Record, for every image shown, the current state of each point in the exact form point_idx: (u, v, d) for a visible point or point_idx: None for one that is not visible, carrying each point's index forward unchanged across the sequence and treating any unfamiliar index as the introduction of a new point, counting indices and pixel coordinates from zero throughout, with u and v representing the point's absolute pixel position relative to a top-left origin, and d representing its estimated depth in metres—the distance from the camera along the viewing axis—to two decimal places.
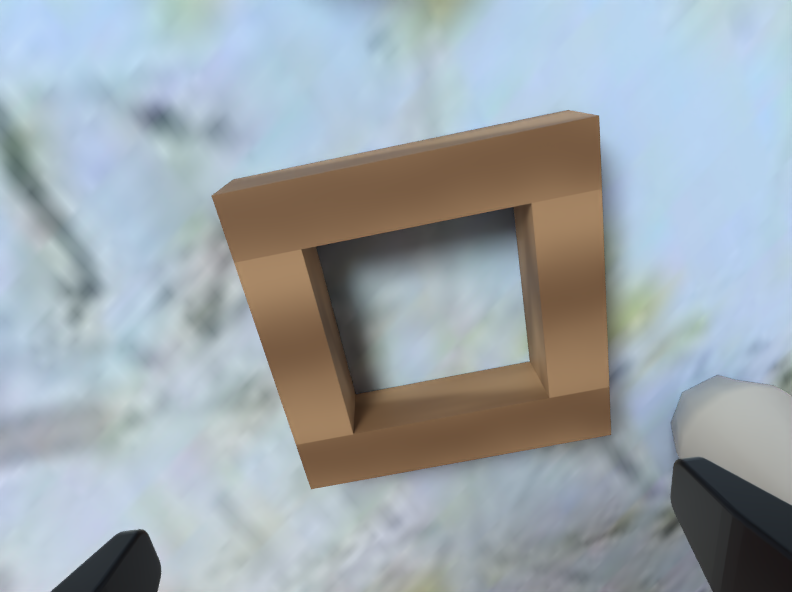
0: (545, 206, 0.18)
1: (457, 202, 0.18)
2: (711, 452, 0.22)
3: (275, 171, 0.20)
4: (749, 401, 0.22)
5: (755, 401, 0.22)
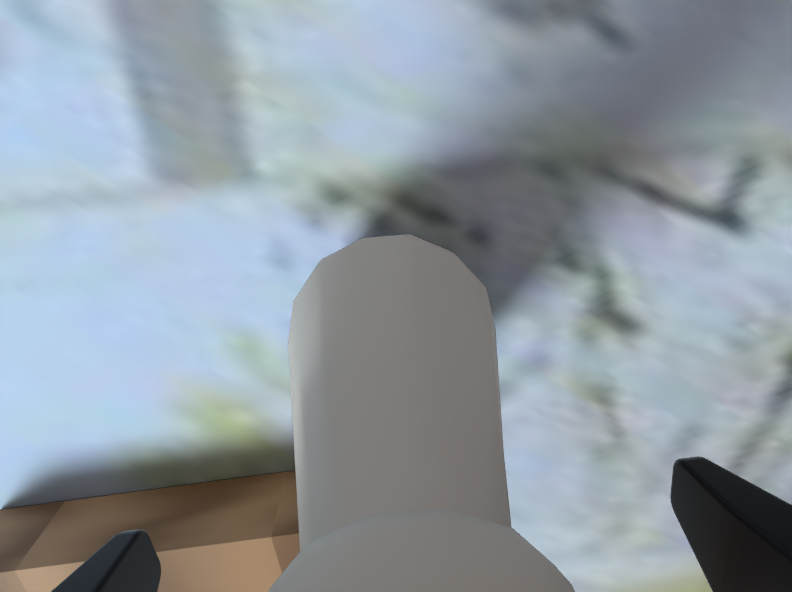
0: None
1: None
2: None
3: None
4: None
5: None
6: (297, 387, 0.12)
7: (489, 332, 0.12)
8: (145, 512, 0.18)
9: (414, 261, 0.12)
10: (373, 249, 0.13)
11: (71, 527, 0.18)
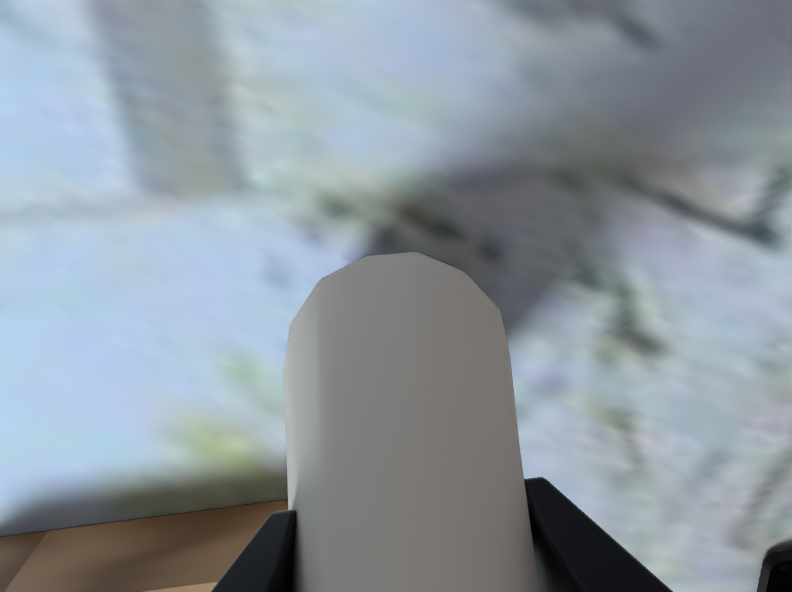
0: None
1: None
2: None
3: None
4: None
5: None
6: (292, 427, 0.10)
7: (506, 364, 0.11)
8: (132, 545, 0.17)
9: (423, 284, 0.11)
10: (377, 270, 0.12)
11: (53, 561, 0.17)
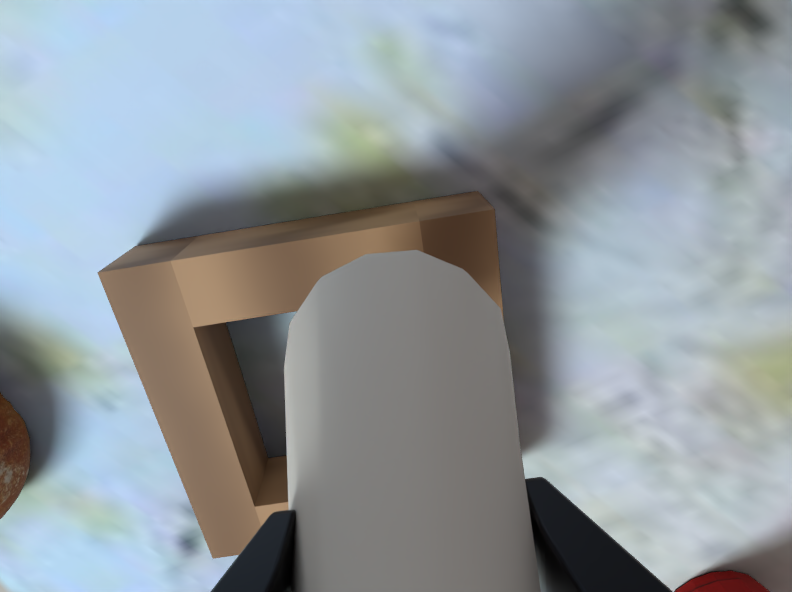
0: (195, 314, 0.18)
1: (199, 391, 0.19)
2: None
3: None
4: None
5: None
6: (292, 425, 0.10)
7: (506, 362, 0.11)
8: (283, 229, 0.19)
9: (423, 282, 0.11)
10: (377, 268, 0.12)
11: (213, 242, 0.19)
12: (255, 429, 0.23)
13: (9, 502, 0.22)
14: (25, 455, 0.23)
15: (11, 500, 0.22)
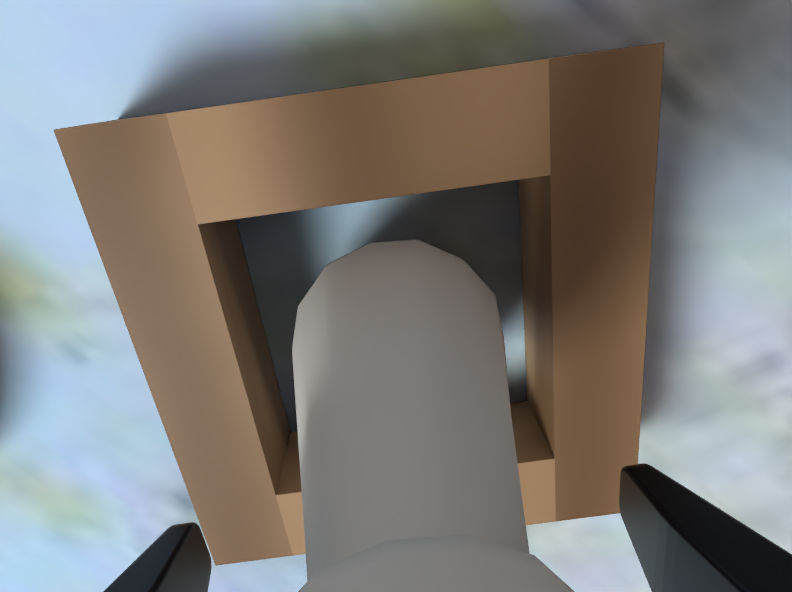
0: (201, 203, 0.12)
1: (204, 324, 0.13)
2: None
3: None
4: None
5: None
6: (302, 397, 0.11)
7: (499, 342, 0.12)
8: (332, 89, 0.13)
9: (423, 267, 0.12)
10: (380, 254, 0.13)
11: None
12: (276, 391, 0.17)
13: None
14: None
15: None
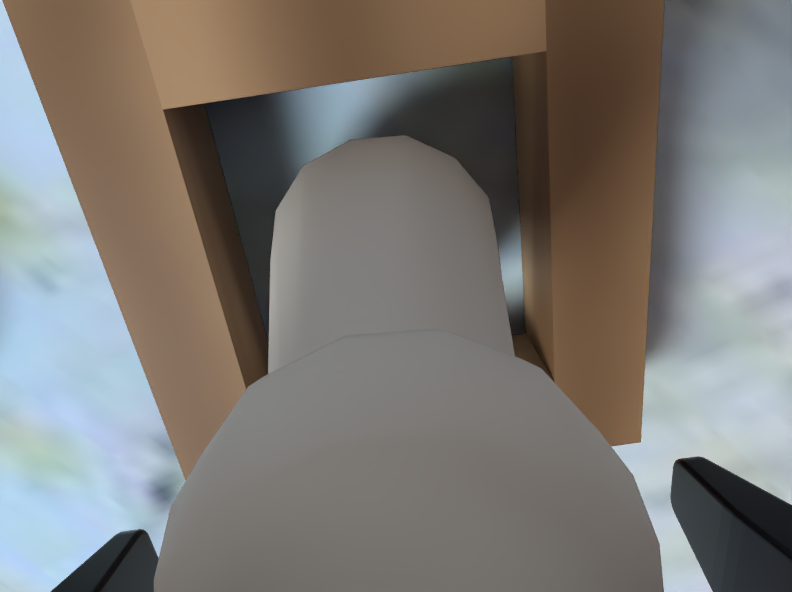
0: (166, 84, 0.11)
1: (173, 227, 0.12)
2: None
3: None
4: None
5: None
6: (275, 284, 0.10)
7: (492, 229, 0.11)
8: None
9: (409, 152, 0.11)
10: (363, 145, 0.12)
11: None
12: (258, 321, 0.16)
13: None
14: None
15: None
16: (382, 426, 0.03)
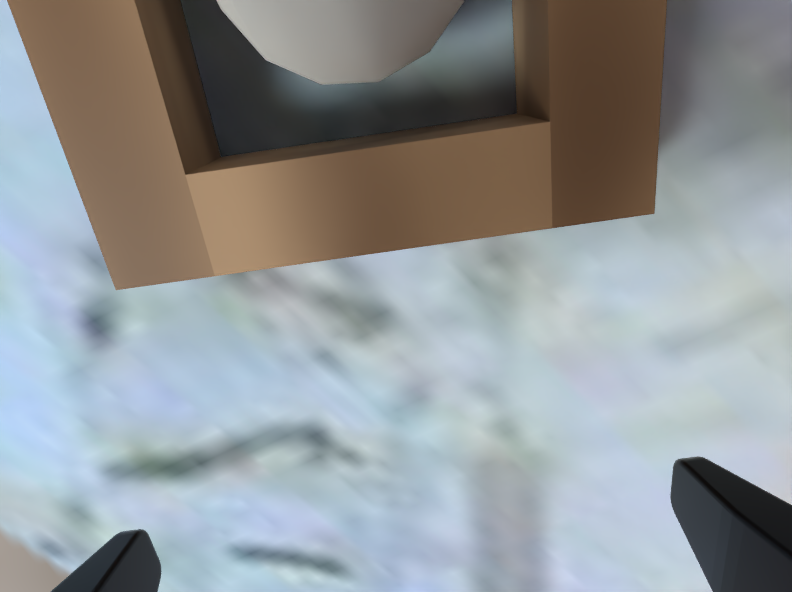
0: None
1: None
2: (299, 64, 0.10)
3: None
4: None
5: None
6: None
7: None
8: None
9: None
10: None
11: None
12: (196, 81, 0.14)
13: None
14: None
15: None
16: None
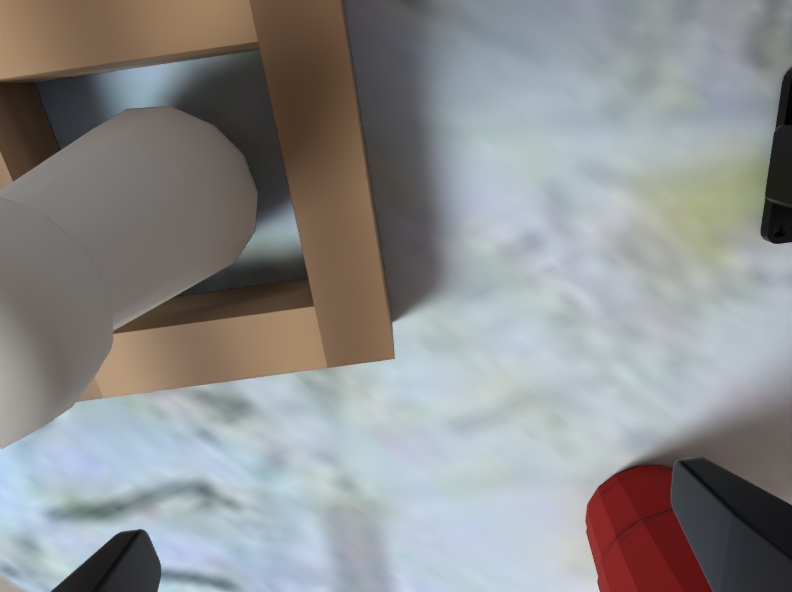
0: None
1: None
2: None
3: None
4: None
5: None
6: None
7: (209, 173, 0.15)
8: None
9: (154, 117, 0.15)
10: (130, 112, 0.16)
11: None
12: None
13: None
14: None
15: None
16: None
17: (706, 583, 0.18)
